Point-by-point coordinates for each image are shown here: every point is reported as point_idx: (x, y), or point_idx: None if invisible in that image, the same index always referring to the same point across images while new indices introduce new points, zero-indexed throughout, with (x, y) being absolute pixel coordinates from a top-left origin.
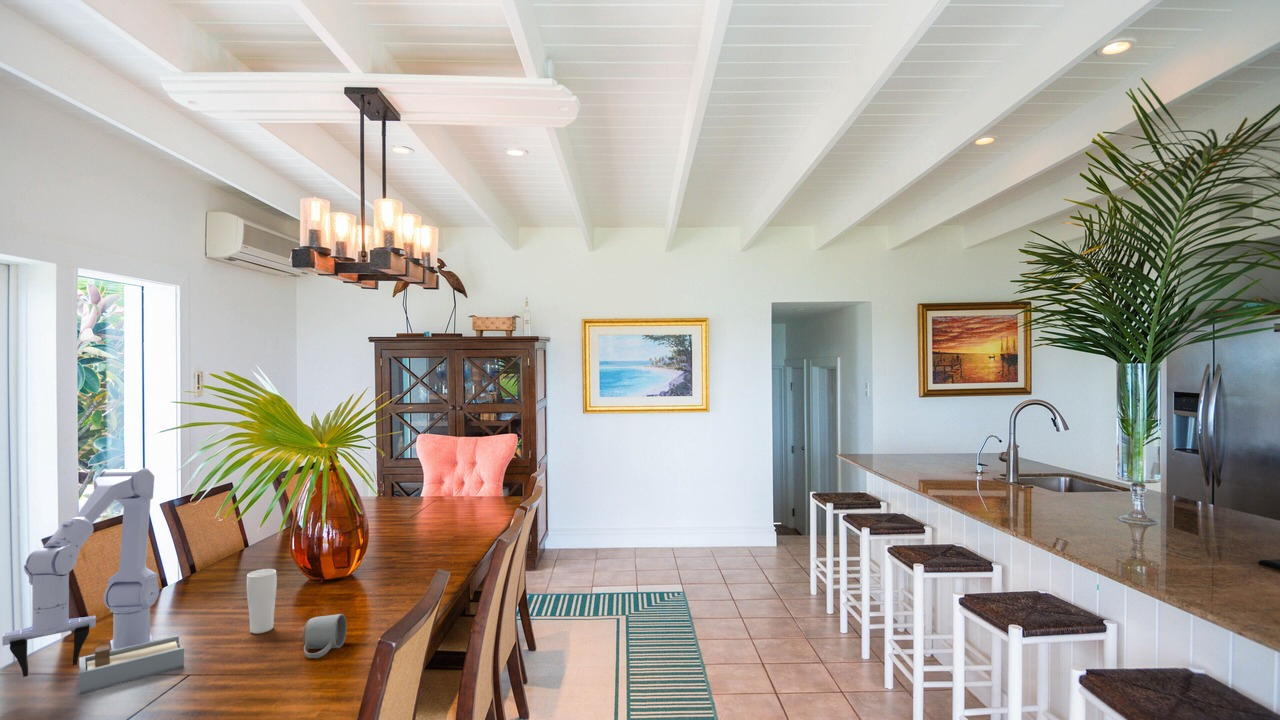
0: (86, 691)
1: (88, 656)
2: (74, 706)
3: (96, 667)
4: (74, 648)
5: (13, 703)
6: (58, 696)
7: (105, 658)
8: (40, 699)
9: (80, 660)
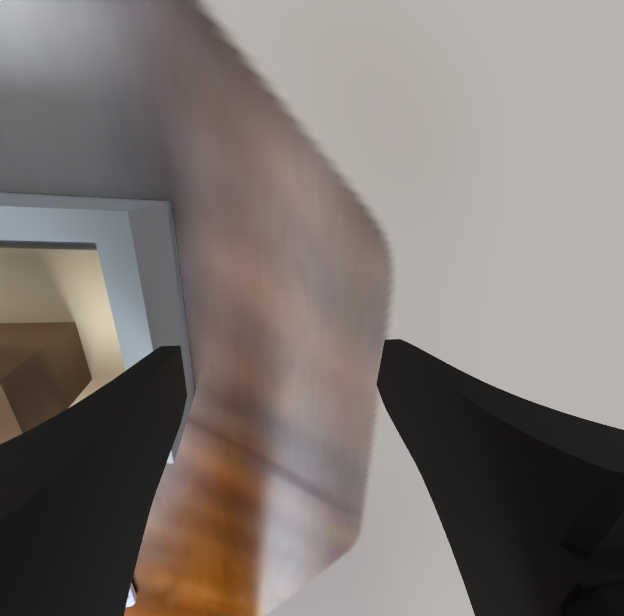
0: (141, 200)
1: None
2: (175, 26)
3: (66, 311)
4: (113, 414)
5: (384, 299)
6: (253, 250)
7: None
8: (311, 269)
9: None
